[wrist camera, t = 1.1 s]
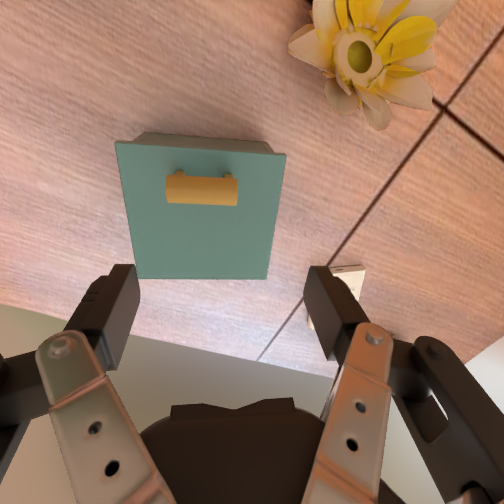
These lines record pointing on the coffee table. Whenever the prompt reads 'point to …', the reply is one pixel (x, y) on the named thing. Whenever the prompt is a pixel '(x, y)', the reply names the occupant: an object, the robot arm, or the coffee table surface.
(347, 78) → the decorative flower
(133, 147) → the lid
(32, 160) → the coffee table surface
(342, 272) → the hard drive
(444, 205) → the coffee table surface
